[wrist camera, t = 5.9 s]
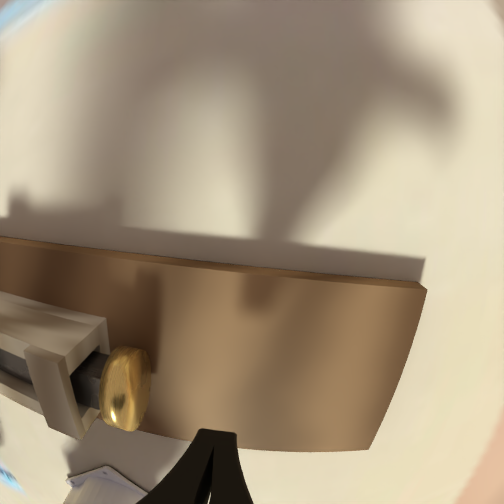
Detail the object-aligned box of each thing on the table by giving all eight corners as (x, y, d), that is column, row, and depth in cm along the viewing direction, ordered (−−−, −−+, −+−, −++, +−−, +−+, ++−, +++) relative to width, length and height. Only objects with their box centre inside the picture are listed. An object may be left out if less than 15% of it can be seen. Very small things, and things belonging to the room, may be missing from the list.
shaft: (148, 334, 14) (114, 381, 10) (153, 397, 15) (128, 448, 11) (-11, 293, 14) (-52, 315, 10) (1, 347, 15) (-34, 373, 11)
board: (417, 282, 14) (480, 329, 8) (364, 437, 17) (385, 503, 11) (-2, 236, 15) (-66, 256, 9) (24, 377, 17) (-18, 417, 11)
